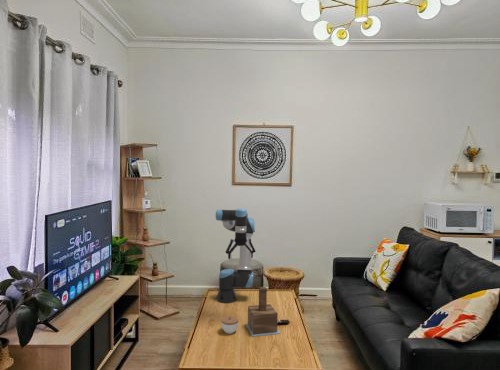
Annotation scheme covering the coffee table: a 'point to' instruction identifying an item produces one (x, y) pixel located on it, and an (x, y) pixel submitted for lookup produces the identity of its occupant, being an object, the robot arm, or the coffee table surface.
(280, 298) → the coffee table surface
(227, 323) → the lidded jar
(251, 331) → the mat
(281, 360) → the coffee table surface
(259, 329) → the cover
